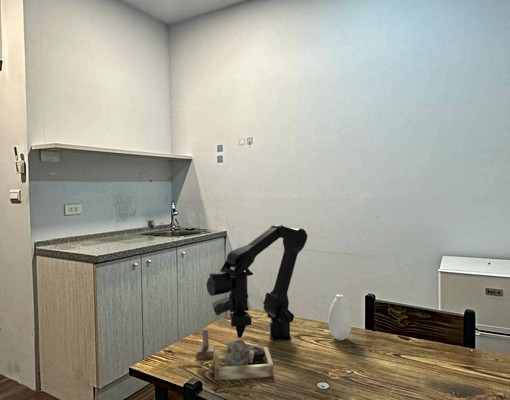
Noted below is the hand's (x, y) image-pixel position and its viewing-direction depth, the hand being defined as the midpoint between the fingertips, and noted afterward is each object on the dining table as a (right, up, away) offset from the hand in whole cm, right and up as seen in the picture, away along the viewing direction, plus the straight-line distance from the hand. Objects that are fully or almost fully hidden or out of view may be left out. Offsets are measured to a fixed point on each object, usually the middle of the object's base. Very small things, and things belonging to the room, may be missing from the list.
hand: (239, 337), depth 118 cm
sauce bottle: (+34, -4, +7) cm, 35 cm away
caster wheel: (+2, -5, -8) cm, 10 cm away
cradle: (+1, -4, -12) cm, 13 cm away
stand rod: (-11, -4, -3) cm, 12 cm away
